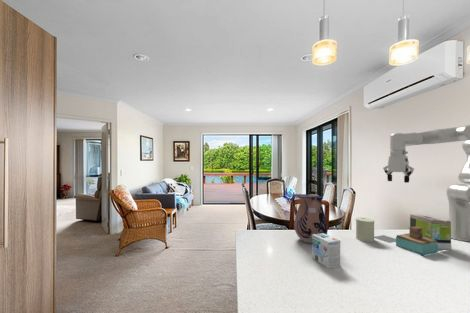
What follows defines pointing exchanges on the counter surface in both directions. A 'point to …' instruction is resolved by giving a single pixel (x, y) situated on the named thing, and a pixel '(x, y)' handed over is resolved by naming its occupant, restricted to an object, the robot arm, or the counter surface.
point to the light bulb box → (326, 250)
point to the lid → (416, 236)
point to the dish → (417, 246)
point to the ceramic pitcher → (309, 216)
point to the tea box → (433, 229)
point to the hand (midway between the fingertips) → (398, 181)
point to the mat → (385, 238)
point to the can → (365, 229)
